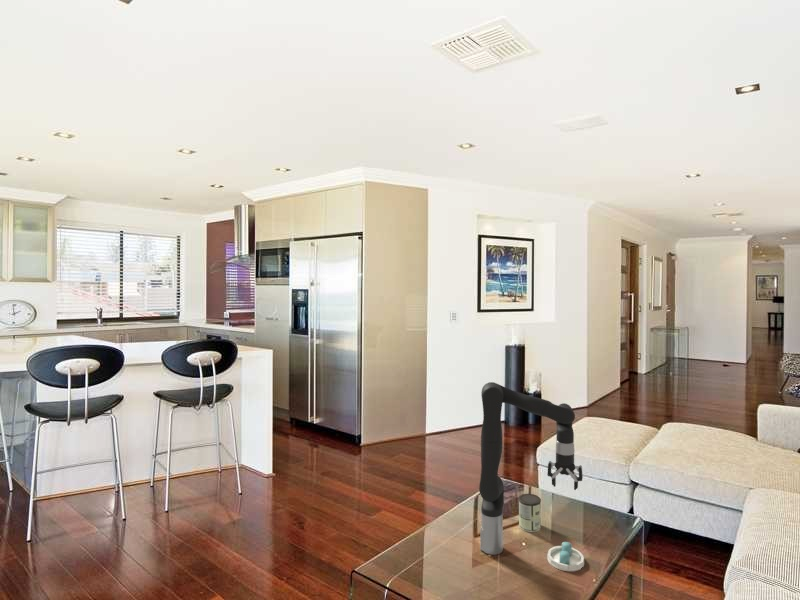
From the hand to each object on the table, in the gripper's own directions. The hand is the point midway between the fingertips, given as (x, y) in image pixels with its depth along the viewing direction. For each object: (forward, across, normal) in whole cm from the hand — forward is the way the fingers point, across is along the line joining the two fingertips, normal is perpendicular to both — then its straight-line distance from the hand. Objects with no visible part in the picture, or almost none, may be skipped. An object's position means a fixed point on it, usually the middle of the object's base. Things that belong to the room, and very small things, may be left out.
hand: (564, 487), depth 224 cm
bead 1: (+29, +1, -1) cm, 29 cm away
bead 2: (+29, +1, -9) cm, 31 cm away
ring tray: (+30, +1, -5) cm, 31 cm away
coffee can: (+30, -18, +17) cm, 39 cm away
